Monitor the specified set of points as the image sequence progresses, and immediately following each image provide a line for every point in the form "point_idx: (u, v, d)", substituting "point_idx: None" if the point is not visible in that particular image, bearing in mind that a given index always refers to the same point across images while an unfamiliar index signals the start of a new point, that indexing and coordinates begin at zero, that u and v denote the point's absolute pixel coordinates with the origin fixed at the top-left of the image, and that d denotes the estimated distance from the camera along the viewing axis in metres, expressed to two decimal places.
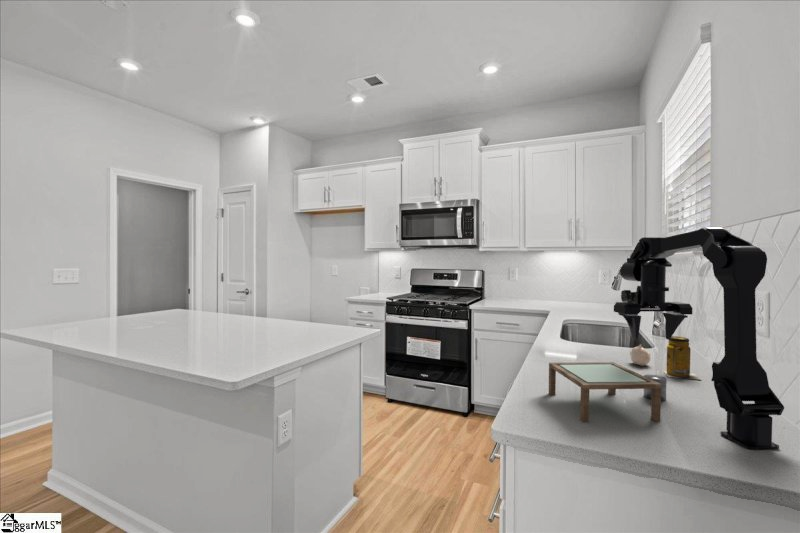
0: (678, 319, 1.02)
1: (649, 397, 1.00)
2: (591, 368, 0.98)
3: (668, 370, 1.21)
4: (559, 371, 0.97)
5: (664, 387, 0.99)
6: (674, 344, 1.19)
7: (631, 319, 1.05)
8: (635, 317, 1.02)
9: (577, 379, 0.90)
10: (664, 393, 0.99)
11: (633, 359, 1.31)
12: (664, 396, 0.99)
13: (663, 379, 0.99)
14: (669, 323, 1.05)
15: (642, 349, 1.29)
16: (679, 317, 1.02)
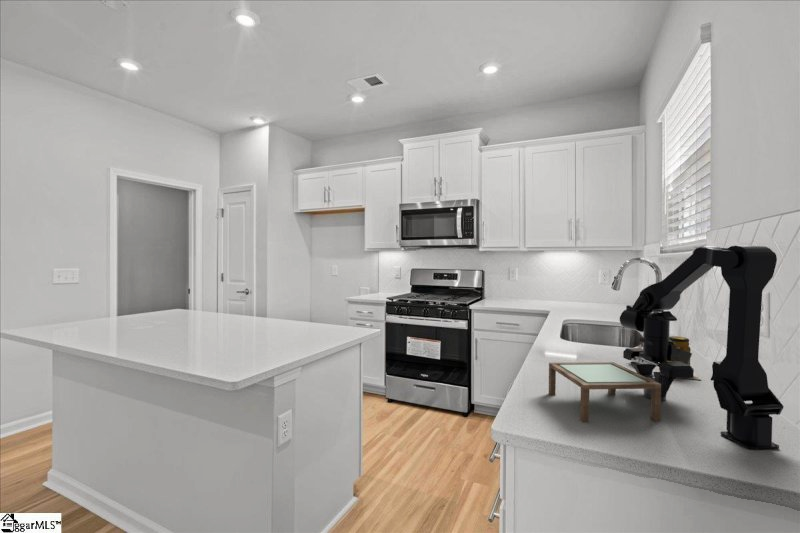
0: (655, 376, 0.97)
1: (649, 397, 1.00)
2: (591, 368, 0.98)
3: None
4: (559, 371, 0.97)
5: None
6: None
7: None
8: (633, 364, 1.05)
9: (577, 379, 0.90)
10: None
11: None
12: None
13: None
14: None
15: None
16: (654, 373, 0.97)
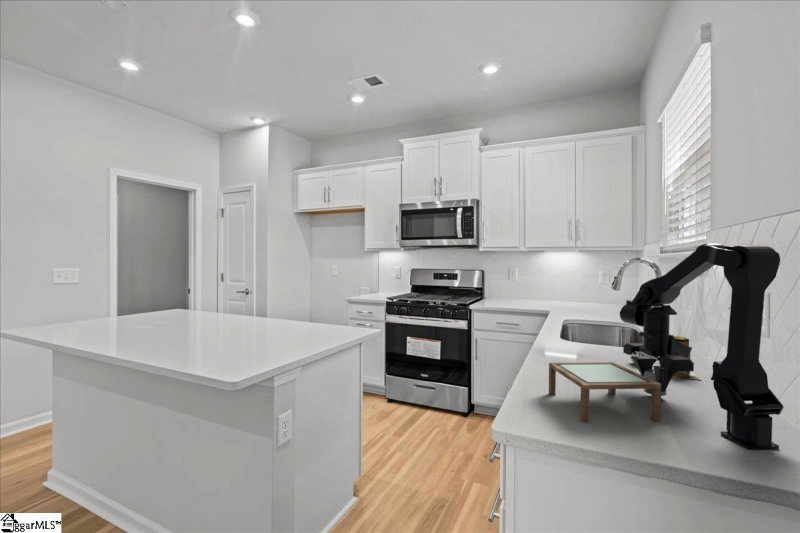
0: (655, 370, 0.97)
1: (649, 391, 1.00)
2: (591, 368, 0.98)
3: None
4: (559, 371, 0.97)
5: None
6: None
7: None
8: (633, 359, 1.05)
9: (577, 379, 0.90)
10: None
11: None
12: None
13: None
14: None
15: None
16: (654, 367, 0.97)
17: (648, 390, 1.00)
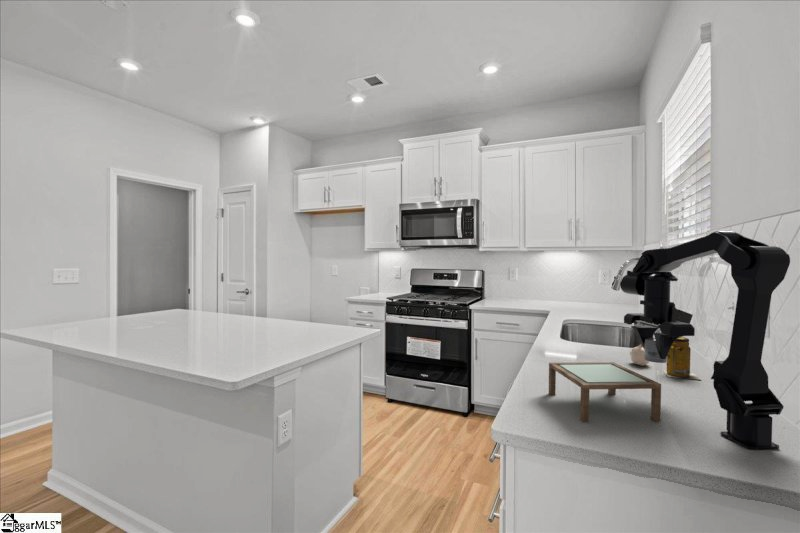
0: (655, 337, 0.97)
1: (650, 359, 1.00)
2: (591, 368, 0.98)
3: (668, 370, 1.21)
4: (559, 371, 0.97)
5: None
6: (674, 344, 1.19)
7: None
8: (633, 328, 1.05)
9: (577, 379, 0.90)
10: None
11: (633, 359, 1.31)
12: None
13: None
14: None
15: (642, 349, 1.29)
16: (655, 334, 0.97)
17: (649, 358, 1.00)
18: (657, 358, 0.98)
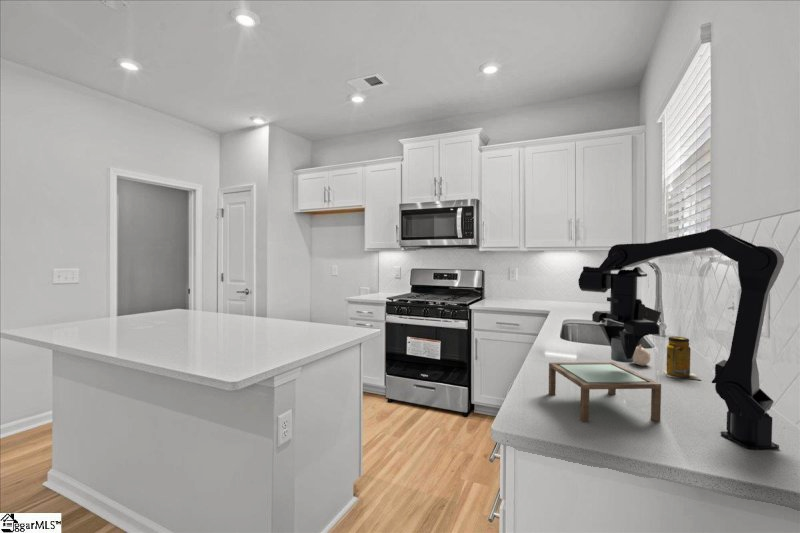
0: (620, 335, 0.92)
1: (616, 358, 0.95)
2: (591, 368, 0.98)
3: (668, 370, 1.21)
4: (559, 371, 0.97)
5: None
6: (674, 344, 1.19)
7: None
8: (601, 326, 1.01)
9: (577, 379, 0.90)
10: None
11: None
12: None
13: None
14: None
15: (642, 349, 1.29)
16: (620, 333, 0.92)
17: (614, 357, 0.95)
18: (623, 358, 0.94)
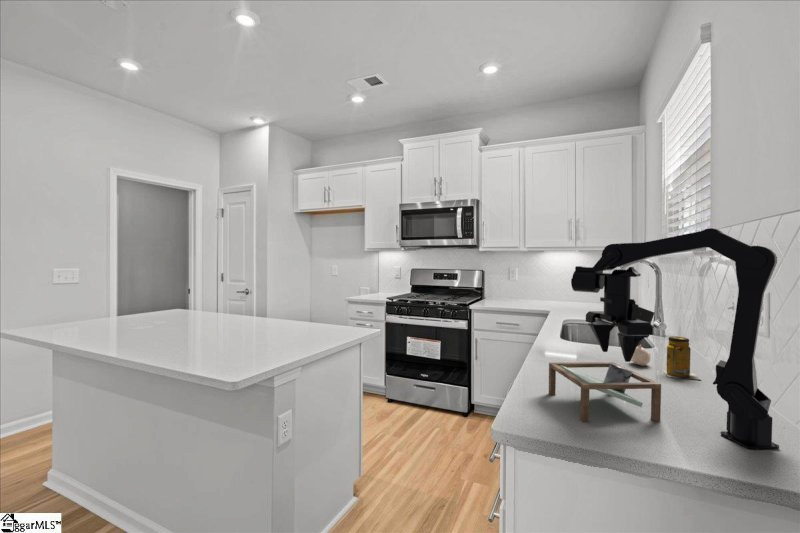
0: (619, 338, 0.89)
1: None
2: (590, 377, 0.98)
3: (668, 370, 1.21)
4: (559, 371, 0.97)
5: (627, 378, 0.93)
6: (674, 344, 1.19)
7: None
8: (590, 325, 1.01)
9: (577, 379, 0.90)
10: None
11: (633, 359, 1.31)
12: None
13: (629, 371, 0.94)
14: None
15: (642, 349, 1.29)
16: (618, 335, 0.89)
17: None
18: None
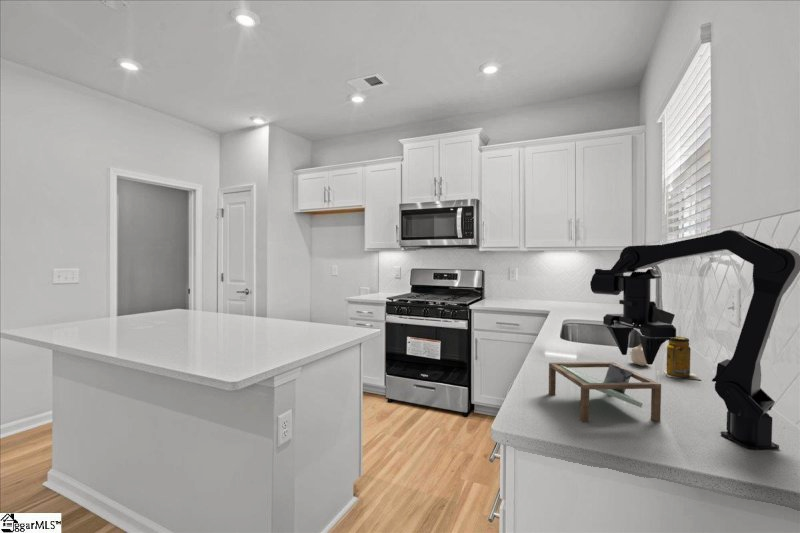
0: (641, 340, 0.89)
1: None
2: (590, 378, 0.98)
3: (668, 370, 1.21)
4: (559, 371, 0.97)
5: (627, 379, 0.93)
6: (674, 344, 1.19)
7: None
8: (608, 328, 1.01)
9: (577, 379, 0.90)
10: None
11: (633, 359, 1.31)
12: None
13: (629, 371, 0.94)
14: None
15: (642, 349, 1.29)
16: (640, 337, 0.89)
17: None
18: None
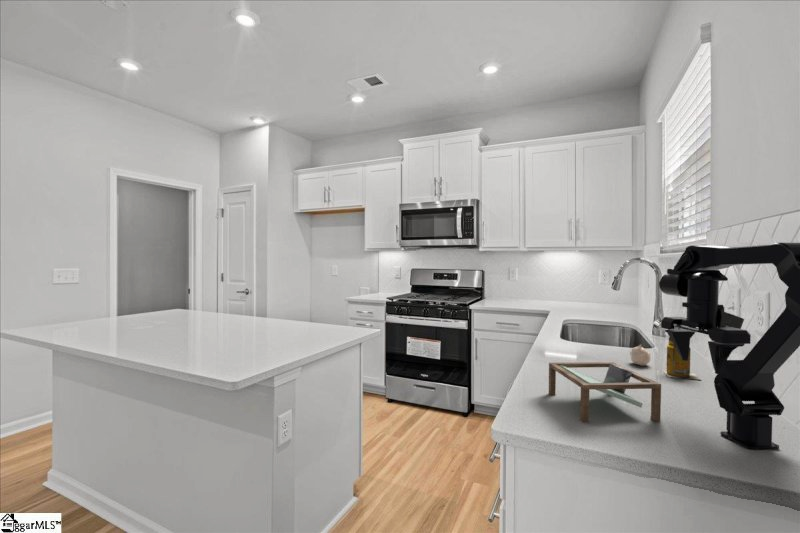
0: (710, 346, 0.83)
1: None
2: (590, 378, 0.98)
3: (668, 370, 1.21)
4: (559, 371, 0.97)
5: (627, 379, 0.93)
6: None
7: None
8: (667, 332, 0.95)
9: (577, 379, 0.90)
10: None
11: (633, 359, 1.31)
12: None
13: (629, 371, 0.94)
14: None
15: (642, 349, 1.29)
16: (709, 343, 0.83)
17: None
18: None
